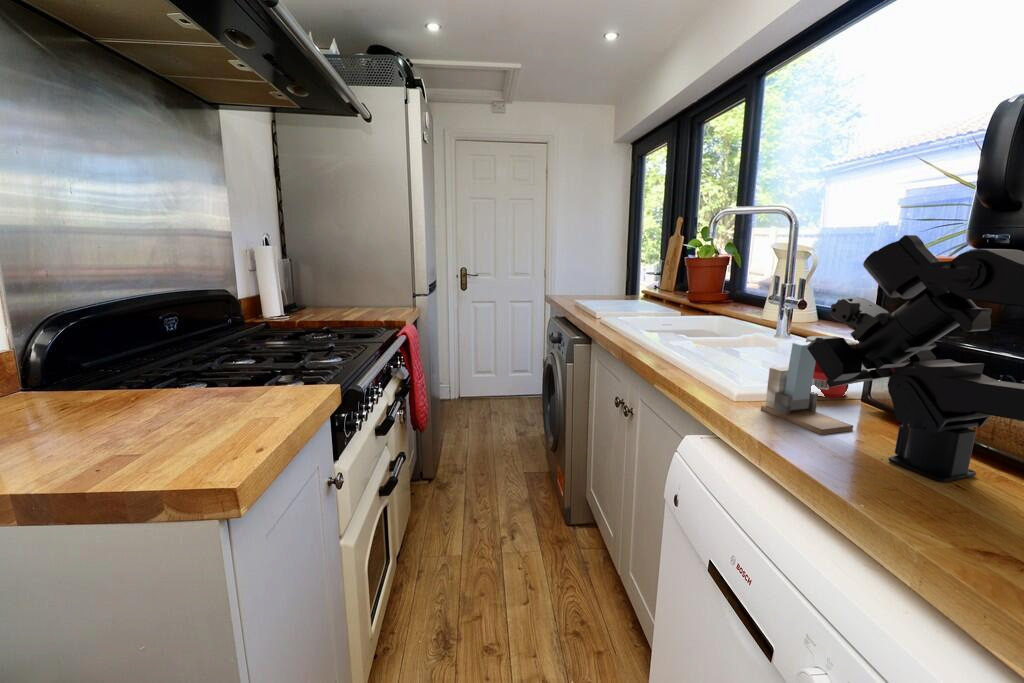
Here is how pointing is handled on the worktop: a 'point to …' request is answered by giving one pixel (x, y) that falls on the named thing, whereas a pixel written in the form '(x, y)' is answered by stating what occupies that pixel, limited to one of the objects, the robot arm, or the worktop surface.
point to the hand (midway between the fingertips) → (829, 384)
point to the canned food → (821, 379)
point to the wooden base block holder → (804, 417)
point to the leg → (800, 376)
